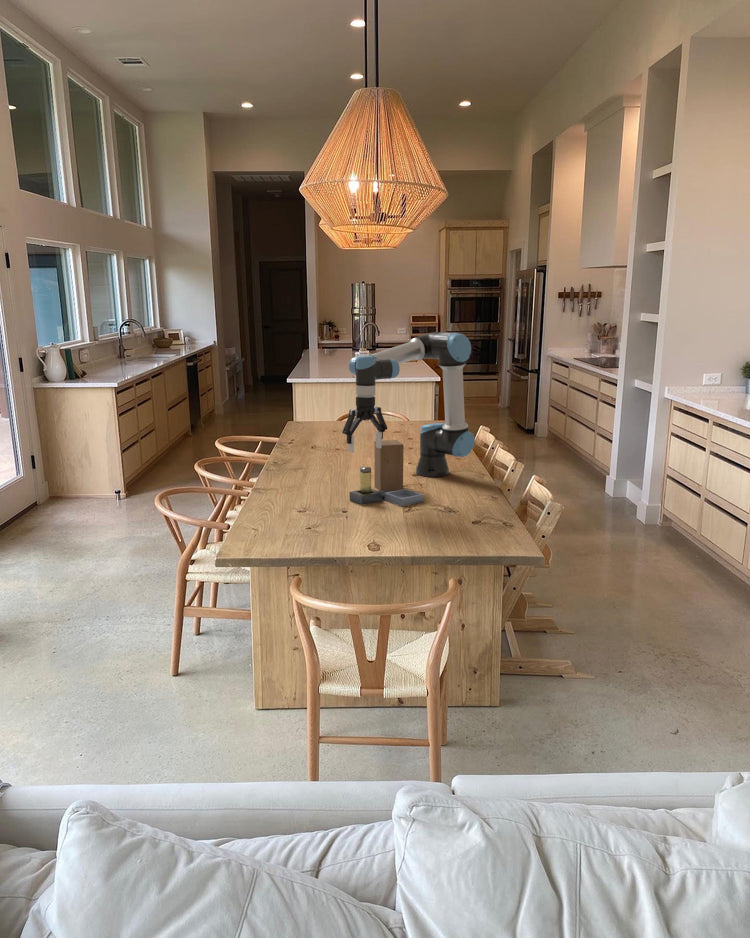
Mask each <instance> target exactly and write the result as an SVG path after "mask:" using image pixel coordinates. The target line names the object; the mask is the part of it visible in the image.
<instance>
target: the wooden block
mask: <svg viewBox="0 0 750 938" xmlns="http://www.w3.org/2000/svg"><path fill="white" fill-rule="evenodd" d="M373 477H374V483H373V485H374V488H376V489H377V491H380V490H385V489H387V490H390V491H397V490H402V489H404V443H402V442H400V441H399V440H397V439H388V440H382V448H376V440H375V441H374V475H373Z"/></svg>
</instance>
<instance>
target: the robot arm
mask: <svg viewBox="0 0 750 938" xmlns="http://www.w3.org/2000/svg"><path fill="white" fill-rule="evenodd" d="M471 354H472V344H471V341H470V340H469V338H468V337H467V336H466V335H465V334H463V333H457V332H440V331H433V332H428V333H425V334H422V335H419V336H416V337H414V338H411V339H410V340H409V342H406V343H403V344H399V345H396V346H393V347H391V348H387V349H385V350H380V351H378V352H375V353H372V354H368V355H367V354H366V355H358V356H354V357H351V359H350V361H349V362H348V369H349V372H350V374H352V375H353V376H355V395H356V397H355V406H356V408H355V409H349V412H348V416H347V418H346V422H345V424H344V427H343V429H342V434H343V435H346V444H347V445H348V447H347V451H348V452H349V453H353V454H354V453H355V436H354V435H353V434H354V432H355V431H356V429H357V428H358V427H359V425H360V424H361V423H362V422H363V421H371V423H372V424H373V425H374V427H375V428H376V429H377V431H376V432H375V441H376V448H382V441H383V440H384V439H383V438H384V433H385V432H386V430H388V425H387V423H386V421H385V418H384V416H383V413H382V407H379V406H376V397H375V395H376V381H377V380H391V379H394V378H395V379H396V378H397V377H398V376H399V374H400V365H401V364H404V363H408V362H411V361H413V360H416V361H420V360H425V359H431V360H432V359H433V360H438V367H440V369H441V370H442V385H443V403H444V404H443V406H444V422H435V423H434V422H433V423H426V424H423V425H421V426H420V433H419V441H420V442H419V443H420V444H419V446H420V447H419V459H418V462H417V465H416V467H415V474H417V475H419V476H421V477H428V478H430V477H431V478H435V477H436V478H439V477H446V476H448V475H449V474H450V468H449V465H448V461H447V458H446V455H449V456H452V457H457V458H464V457H467V456H468V455H470V453H471V452H472V450H473V449H474V446H475V442H476V441H475V435H474V434H473V432H472V431H469V424H468V423H467V422H466V418H465V416H466V415H465V396H464V394H465V393H464V392H465V391H464V372H463V371H464V370H463V369H464V367H465V366H466V364H467V361H468V360H469V359H470V356H471ZM374 414H375V415H374Z"/></svg>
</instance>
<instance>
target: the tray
mask: <svg viewBox="0 0 750 938" xmlns="http://www.w3.org/2000/svg"><path fill="white" fill-rule="evenodd" d="M384 501H387V502H389V503H391V504H394V505H397V506H400V507H406V506H411V505H415V504H419V503H424V494H423V493H420V492H418V491H417V492H416V491H414V490H411V489H407V488H403V489H402V490H397V491H392V492H387V493H385V499H384Z"/></svg>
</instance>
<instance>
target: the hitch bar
mask: <svg viewBox="0 0 750 938" xmlns="http://www.w3.org/2000/svg"><path fill="white" fill-rule="evenodd" d="M387 492H392V491H390V490H387V489H385V490H380V491H379V490H378V489H377V490H376V489H373V488H371V493H370V494H365V495H364V494H361V493H360V489H358V490H352V491H349V501H350V502H352V503H354V504H355V503H356V504H358V505H360V506H363V505H368V504H373V503H378V502H381V501H383V500H384V501H385V493H387Z"/></svg>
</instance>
